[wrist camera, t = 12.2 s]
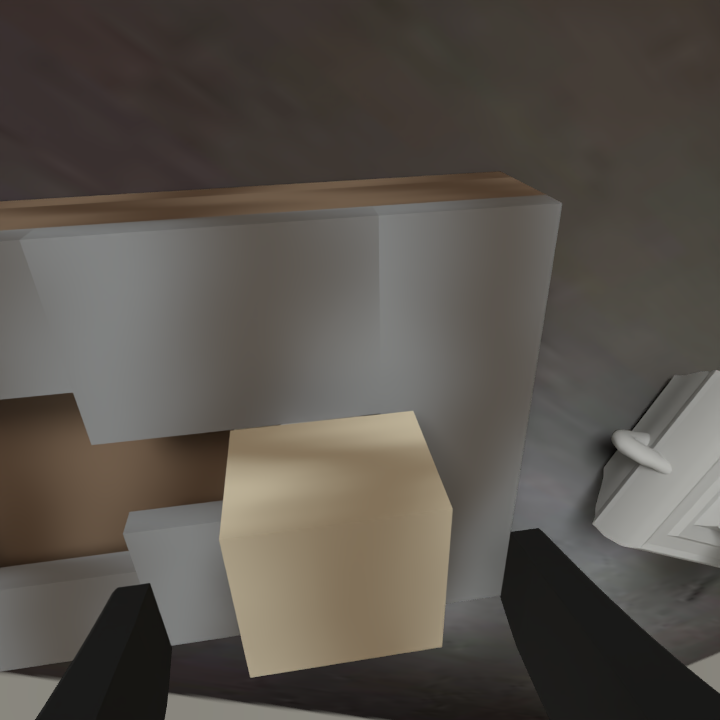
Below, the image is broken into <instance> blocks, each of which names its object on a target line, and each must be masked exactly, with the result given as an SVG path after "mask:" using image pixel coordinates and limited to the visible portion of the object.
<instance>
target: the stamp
mask: <svg viewBox="0 0 720 720" xmlns="http://www.w3.org/2000/svg"><path fill="white" fill-rule="evenodd" d="M611 441H612V443H613V444H614V445H615V447H616V448H617V449H618V450H617V451H616V452H615V454H614V455H613V456H612V458H611V459H610V460H609V461H608V463H607V464H606V465H605V467H604V477H603V481H602V485H601V489H600V492H599V496H598V500H597V503H596V509H595V517H594V520H593V525H594V526H595V527H596V528H597V529H598V530H599V531H600V532H601V533H602V534H603V535H604V536H605V537H607V538H608V539H610V540H612V541H614V542H615V543H617V544H619V545H621V546H625V547H629V548H634V549H638V550H643V551H647V552H651V553H656V554H660V555H665V556H669V557H674V558H678V559H683V560H687V561H692V562H696V563H700V564H705V565H709V566H714V567H718V568H720V371H718V370H713V371H711V372H707V371H702V372H697V373H693V374H689V375H684V376H680V375H675V376H674V377H673V378H672V380H671V381H670V382H669V384H668V385H667V386H666V387H665V389H664V390H663V391H662V393H661V394H660V395H659V397H658V398H657V399H656V400H655V402H654V403H653V404H652V406H651V407H650V408H649V409H648V411H647V412H646V413H645V415H644V416H643V417H642V419H641V420H640V421H639V422H638V424H637V425H636V426H635V428H634V429H633V430H632V431H630V430H616V431H615V432H614V433H613V435H612V437H611Z"/></svg>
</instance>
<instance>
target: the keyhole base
mask: <svg viewBox="0 0 720 720" xmlns="http://www.w3.org/2000/svg"><path fill="white" fill-rule="evenodd" d="M561 208H562V203H561V202H559V201H557V200H555V199H553V198H551V197H549V196H547V195H545V194H543V193H542V192H540V191H538V190H536V189H534V188H532V187H530V186H528V185H526V184H524V183H522V182H520V181H518V180H516V179H514V178H512V177H510V176H508V175H506V174H504V173H502V172H501V171H500V172H483V173H467V174H450V175H433V176H417V177H400V178H383V179H367V180H350V181H333V182H317V183H300V184H283V185H267V186H250V187H234V188H217V189H200V190H184V191H167V192H150V193H134V194H117V195H100V196H84V197H67V198H50V199H34V200H17V201H0V671H6V670H13V669H20V668H26V667H33V666H39V665H46V664H53V663H59V662H66V661H73V659H74V658H75V656H76V654H77V653H78V651H79V649H80V648H81V646H82V644H83V643H84V641H85V639H86V638H87V636H88V634H89V633H90V631H91V629H92V627H93V626H94V624H95V622H96V621H97V619H98V617H99V615H100V614H101V612H102V610H103V608H104V607H105V605H106V603H107V601H108V600H109V598H110V596H111V594H112V592H113V591H114V590H115V589H116V588H118V587H125V586H132V585H139V584H146V583H150V584H151V587H152V590H153V593H154V596H155V599H156V602H157V605H158V608H159V611H160V614H161V617H162V620H163V623H164V625H165V628H166V631H167V634H168V637H169V640H170V643H171V646H172V645H178V644H185V643H192V642H198V641H205V640H211V639H218V638H225V637H231V636H238V635H241V634H240V630H239V626H238V621H237V617H236V612H235V608H234V604H233V599H232V595H231V590H230V586H229V582H228V577H227V573H226V568H225V564H224V560H223V555H222V551H221V546H220V542H219V535H220V525H221V515H222V506H223V496H224V487H225V477H226V467H227V458H228V448H229V438H230V431H233V430H235V429H244V428H253V427H262V426H271V425H280V424H289V423H299V422H308V421H317V420H326V419H335V418H344V417H354V416H363V415H372V414H376V415H379V414H388V413H397V412H406V411H414V414H415V416H416V419H417V421H418V424H419V426H420V429H421V431H422V434H423V436H424V439H425V441H426V444H427V446H428V449H429V451H430V454H431V456H432V459H433V461H434V464H435V466H436V469H437V471H438V474H439V476H440V479H441V481H442V483H443V486H444V488H445V491H446V493H447V496H448V498H449V501H450V503H451V506H452V508H453V512H452V525H451V538H450V551H449V563H448V576H447V589H446V602H445V604H449V603H456V602H463V601H469V600H476V599H483V598H489V597H496V596H501V589H502V583H503V576H504V570H505V564H506V557H507V551H508V544H509V538H510V532H511V527H512V521H513V514H514V508H515V501H516V495H517V489H518V482H519V476H520V470H521V463H522V457H523V450H524V444H525V438H526V431H527V425H528V419H529V412H530V406H531V399H532V393H533V387H534V380H535V374H536V368H537V361H538V355H539V348H540V342H541V336H542V329H543V323H544V317H545V310H546V304H547V297H548V291H549V285H550V278H551V272H552V266H553V259H554V253H555V246H556V240H557V234H558V227H559V221H560V215H561Z"/></svg>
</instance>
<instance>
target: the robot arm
mask: <svg viewBox="0 0 720 720" xmlns="http://www.w3.org/2000/svg"><path fill="white" fill-rule="evenodd" d="M500 597H501V600H502V603H503V607H504V610H505V613H506V616H507V619H508V622H509V625H510V628H511V631H512V634H513V637H514V640H515V643H516V646H517V648H518V651H519V653H520V655H521V657H522V660H523V662H524V664H525V666H526V669H527V671H528V673H529V675H530V677H531V680H532V682H533V684H534V686H535V689H536V691H537V693H538V695H539V697H540V699H541V702H542V704H543V706H544V708H545V710H546V713H547V715H548V717H549V719H550V720H720V693H718V692H717V691H716V690H714V689H713V688H712V687H711V686H709V685H708V684H707V683H706V682H704V681H703V680H702V679H700V678H699V677H698V676H697V675H696V674H695V673H693V672H692V671H691V670H690V669H688V668H687V667H686V666H685V665H684V664H682V663H681V662H680V661H679V660H678V659H677V658H675V657H674V656H673V655H672V654H671V653H670V652H668V651H667V650H666V649H665V648H664V647H663V646H662V645H660V644H659V643H658V642H657V641H656V640H655V639H653V638H652V637H651V636H650V635H649V634H648V633H647V632H646V631H645V630H643V629H642V628H641V627H640V626H639V625H638V624H637V623H636V622H635V621H634V620H632V619H631V618H630V617H629V616H628V615H627V614H626V613H625V612H624V611H623V610H622V609H621V608H620V607H618V606H617V605H616V604H615V603H614V602H613V601H612V600H611V599H610V598H609V597H608V596H607V595H606V594H605V593H604V592H603V591H602V590H601V589H599V588H598V587H597V586H596V585H595V584H594V583H593V582H592V581H591V580H590V579H589V578H588V577H587V576H586V575H585V574H584V573H583V572H582V571H581V570H580V569H579V568H578V567H577V566H576V565H575V564H574V563H573V562H572V561H571V560H570V559H569V558H568V557H567V556H566V555H565V554H564V553H563V552H562V551H561V550H560V549H559V548H558V547H557V546H556V545H555V544H554V543H553V542H552V541H551V540H550V539H549V537H548V536H547V535H546V534H545V533H544V532H543V531H541V530H540V529H539V528H536V529H529V530H522V531H515V532H510V538H509V544H508V551H507V557H506V564H505V570H504V576H503V583H502V589H501V596H500ZM171 653H172V646H171V643H170V640H169V637H168V634H167V631H166V628H165V625H164V623H163V620H162V617H161V614H160V611H159V608H158V605H157V602H156V599H155V596H154V593H153V590H152V587H151V584H150V583H146V584H139V585H132V586H125V587H118V588H116V589H115V590H114V591H113V592H112V594H111V596H110V598H109V600H108V601H107V603H106V605H105V607H104V608H103V610H102V612H101V614H100V615H99V617H98V619H97V621H96V622H95V624H94V626H93V627H92V629H91V631H90V633H89V634H88V636H87V638H86V639H85V641H84V643H83V644H82V646H81V648H80V649H79V651H78V653H77V654H76V656H75V658H74V659H73V661H72V663H71V664H70V666H69V668H68V669H67V671H66V672H65V674H64V675H63V677H62V679H61V680H60V682H59V683H58V685H57V687H56V688H55V690H54V691H53V693H52V694H51V696H50V698H49V699H48V701H47V702H46V704H45V706H44V707H43V708H42V710H41V712H40V713H39V715H38V716H37V718H36V719H35V720H164V719H165V713H166V707H167V699H168V689H169V678H170V666H171Z"/></svg>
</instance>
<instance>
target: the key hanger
mask: <svg viewBox="0 0 720 720" xmlns="http://www.w3.org/2000/svg"><path fill="white" fill-rule="evenodd" d="M452 512H453V508H452V506H451V503H450V501H449V498H448V496H447V493H446V491H445V488H444V486H443V483H442V481H441V479H440V476H439V474H438V471H437V469H436V466H435V464H434V461H433V459H432V456H431V454H430V451H429V449H428V446H427V444H426V441H425V439H424V436H423V434H422V431H421V429H420V426H419V424H418V421H417V419H416V416H415V414H414V411H406V412H397V413H388V414H379V415H376V414H372V415H363V416H354V417H344V418H335V419H326V420H317V421H308V422H299V423H289V424H280V425H271V426H262V427H253V428H244V429H235V430H233V431H230V438H229V448H228V458H227V467H226V477H225V487H224V496H223V506H222V515H221V525H220V535H219V542H220V546H221V551H222V555H223V560H224V564H225V568H226V573H227V577H228V582H229V586H230V590H231V595H232V599H233V604H234V608H235V612H236V617H237V621H238V626H239V630H240V634H241V639H242V643H243V648H244V652H245V656H246V661H247V665H248V670H249V674H250V678H252V677H258V676H264V675H270V674H276V673H283V672H289V671H295V670H301V669H308V668H314V667H320V666H326V665H333V664H339V663H345V662H351V661H358V660H364V659H370V658H376V657H383V656H389V655H395V654H401V653H408V652H414V651H420V650H426V649H432V648H439V647H442V640H443V627H444V614H445V602H446V589H447V576H448V563H449V551H450V538H451V525H452Z"/></svg>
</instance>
